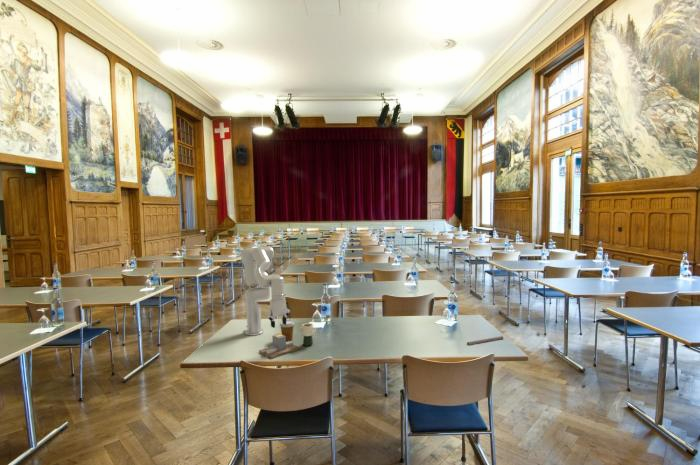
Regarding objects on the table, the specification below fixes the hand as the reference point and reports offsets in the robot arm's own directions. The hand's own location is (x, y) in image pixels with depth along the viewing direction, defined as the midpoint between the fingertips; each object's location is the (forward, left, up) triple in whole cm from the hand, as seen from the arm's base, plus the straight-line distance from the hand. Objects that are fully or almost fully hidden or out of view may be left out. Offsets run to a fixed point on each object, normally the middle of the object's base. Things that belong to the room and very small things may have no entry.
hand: (278, 325), depth 222 cm
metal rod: (+83, +99, -16) cm, 131 cm away
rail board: (0, 0, -16) cm, 16 cm away
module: (0, 0, -14) cm, 14 cm away
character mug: (+5, +18, -16) cm, 25 cm away
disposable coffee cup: (-12, +14, -16) cm, 24 cm away
